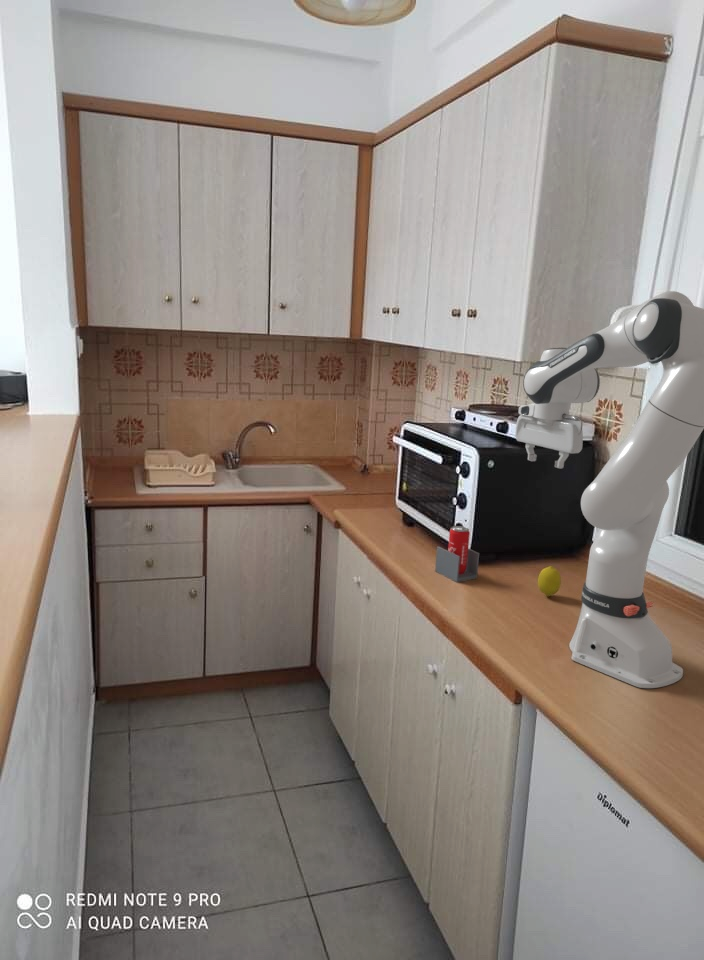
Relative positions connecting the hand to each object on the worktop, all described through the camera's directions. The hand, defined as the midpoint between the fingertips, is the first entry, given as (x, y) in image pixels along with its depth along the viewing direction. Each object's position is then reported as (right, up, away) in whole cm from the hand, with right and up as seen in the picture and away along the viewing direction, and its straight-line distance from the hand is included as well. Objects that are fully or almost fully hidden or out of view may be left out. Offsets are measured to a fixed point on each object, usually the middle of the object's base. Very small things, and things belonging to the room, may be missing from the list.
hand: (544, 464), depth 186 cm
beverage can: (-23, -29, +5) cm, 37 cm away
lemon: (-1, -34, -7) cm, 34 cm away
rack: (-23, -30, +5) cm, 38 cm away
